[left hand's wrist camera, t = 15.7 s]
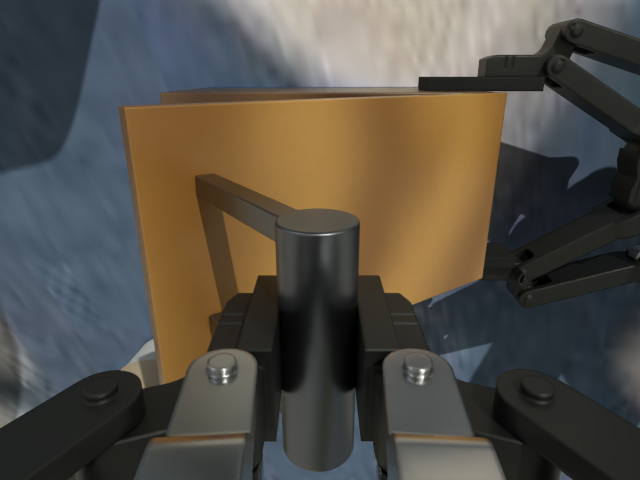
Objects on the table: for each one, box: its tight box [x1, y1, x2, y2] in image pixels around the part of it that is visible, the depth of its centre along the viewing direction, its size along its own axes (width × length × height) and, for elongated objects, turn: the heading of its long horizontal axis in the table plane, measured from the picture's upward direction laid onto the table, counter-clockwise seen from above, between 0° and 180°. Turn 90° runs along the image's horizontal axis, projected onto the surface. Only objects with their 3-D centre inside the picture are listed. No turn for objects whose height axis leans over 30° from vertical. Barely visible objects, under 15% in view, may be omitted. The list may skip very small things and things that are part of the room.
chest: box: [160, 87, 490, 104], centre depth 30 cm, size 18×10×10 cm, turn 90°
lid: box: [119, 92, 507, 472], centre depth 17 cm, size 18×10×8 cm
